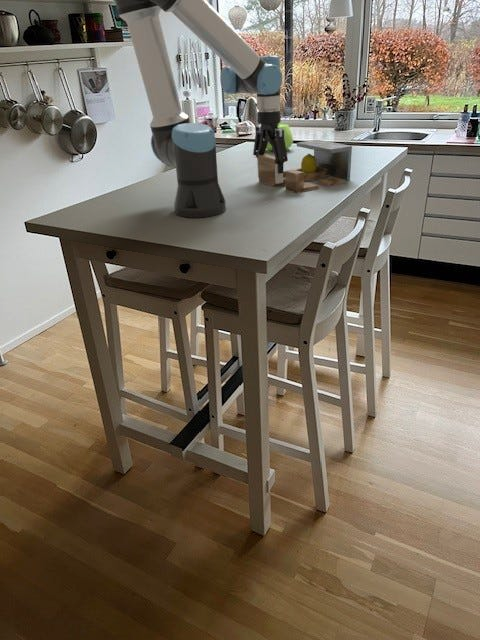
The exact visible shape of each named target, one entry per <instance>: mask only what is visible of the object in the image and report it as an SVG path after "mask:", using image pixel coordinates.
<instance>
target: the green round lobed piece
mask: <svg viewBox="0 0 480 640" xmlns="http://www.w3.org/2000/svg"><path fill="white" fill-rule="evenodd" d="M278 129H279V130H281V129H283V130H284V140H285V146H286V150H288V149H290V148H291V147H292V145H293V144H294V138H293V134H292V131H291V129H290V124H281V122H280V123H278ZM275 140H276V139H275ZM272 151H273V149H272V146H271V144H269V141H268V144H267V147H266V150H265V153H271V152H272ZM288 151H289V150H288Z"/></svg>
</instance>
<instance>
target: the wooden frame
mask: <svg viewBox="0 0 480 640" xmlns="http://www.w3.org/2000/svg"><path fill="white" fill-rule="evenodd" d="M275 162H276V159H275V156H274V155H271V154H268V153H264V154H261V155H258V166H257V171H258V170H259V178H258V183H263V184H265V185H268V186H271V187H274V188H276V187H282V186H285V171H286V170H283V171H284V172H283V183H278V184H276V183H275ZM292 170H297V171H301V172H302V169H301V167H299V168H295V169H292ZM325 178H328V175H327V168H325V167H321V166H317V168H316V171H315V172H314V173H309V174H304V182H309V181H313V180H319V179H325Z"/></svg>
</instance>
